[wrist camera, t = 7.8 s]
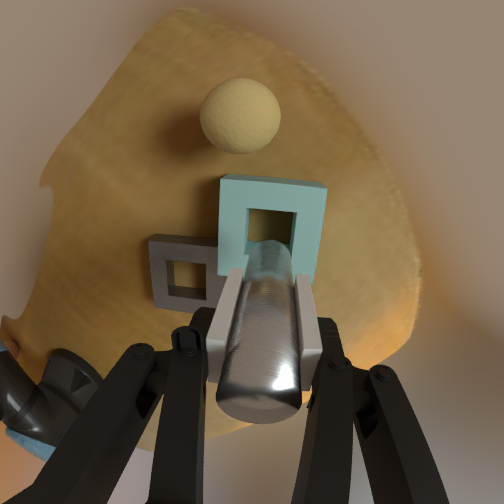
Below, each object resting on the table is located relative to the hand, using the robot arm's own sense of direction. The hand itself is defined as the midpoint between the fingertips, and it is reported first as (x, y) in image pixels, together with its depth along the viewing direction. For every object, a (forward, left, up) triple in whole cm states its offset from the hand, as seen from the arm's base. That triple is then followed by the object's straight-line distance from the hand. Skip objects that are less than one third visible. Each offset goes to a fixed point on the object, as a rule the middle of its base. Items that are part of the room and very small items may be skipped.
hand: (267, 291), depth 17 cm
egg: (-60, -35, -15) cm, 71 cm away
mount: (-9, -7, -15) cm, 19 cm away
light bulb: (-3, +11, -15) cm, 19 cm away
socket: (0, 0, -15) cm, 15 cm away
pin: (0, 0, -5) cm, 5 cm away
